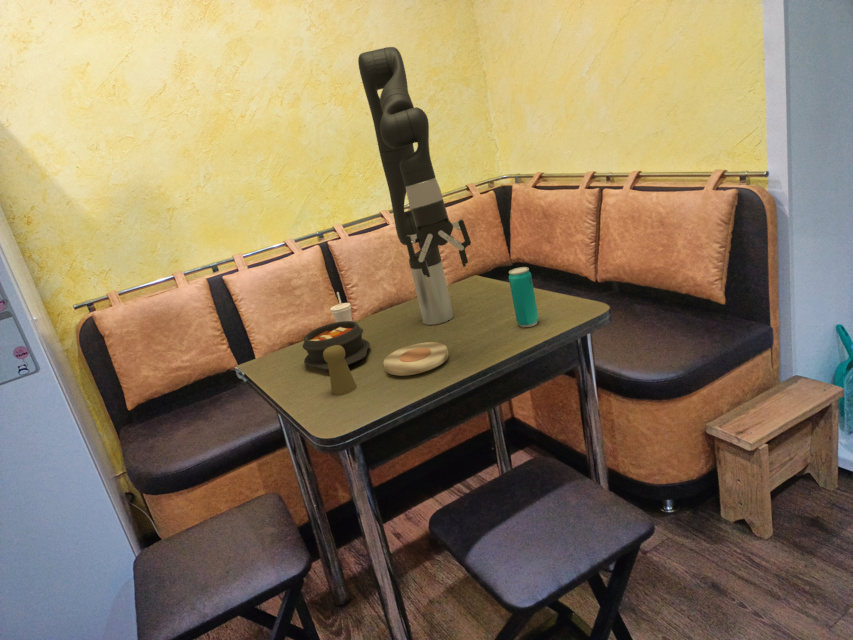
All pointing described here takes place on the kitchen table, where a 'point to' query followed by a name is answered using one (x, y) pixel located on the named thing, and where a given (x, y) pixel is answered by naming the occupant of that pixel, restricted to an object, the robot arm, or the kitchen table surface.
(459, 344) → the kitchen table surface
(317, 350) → the casserole
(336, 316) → the smoothie
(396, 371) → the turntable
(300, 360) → the kitchen table surface
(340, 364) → the brown pepper shaker
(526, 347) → the kitchen table surface
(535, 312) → the beverage can
